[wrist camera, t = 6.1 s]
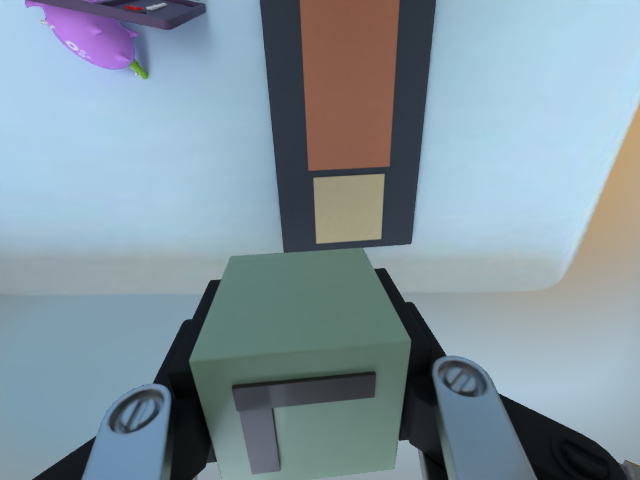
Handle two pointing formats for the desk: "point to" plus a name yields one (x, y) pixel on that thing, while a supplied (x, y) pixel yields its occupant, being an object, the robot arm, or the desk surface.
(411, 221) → the word mat
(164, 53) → the desk surface
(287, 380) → the sage letter block
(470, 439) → the robot arm
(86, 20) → the purple boxed toy figure
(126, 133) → the desk surface
